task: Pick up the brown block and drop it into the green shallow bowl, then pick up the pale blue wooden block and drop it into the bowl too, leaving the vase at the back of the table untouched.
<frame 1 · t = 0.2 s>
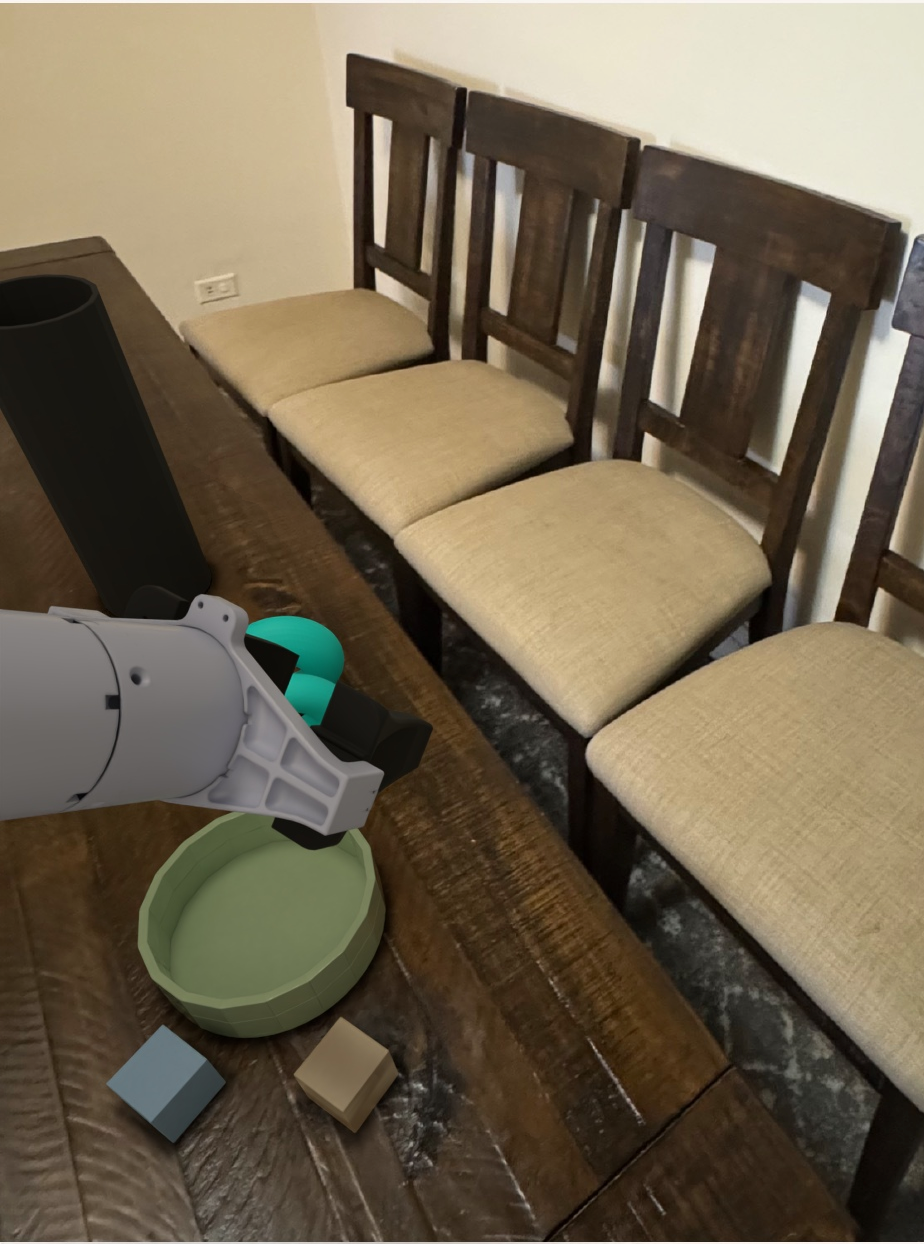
hand: (350, 707, 37), 31 cm above the table, tool tilted 45°, fingers open, 7 cm apart
blue block: (178, 1094, 54), on the table
green shallow bowl: (277, 928, 62), on the table
donuts: (301, 732, 75), on the table
vase: (159, 588, 88), on the table
brown block: (353, 1085, 54), on the table
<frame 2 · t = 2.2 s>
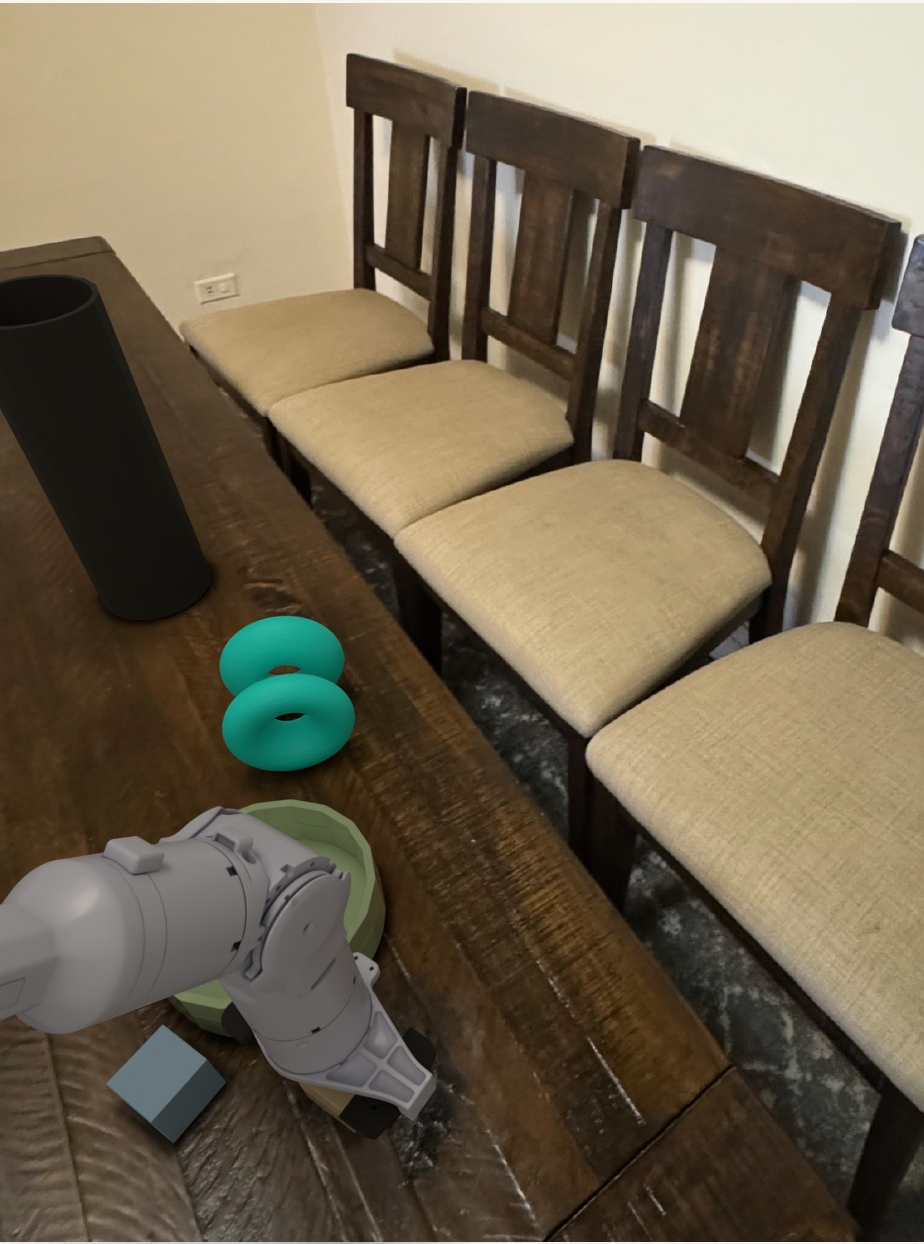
hand: (349, 1077, 53), 1 cm above the table, tool pointing down, fingers open, 7 cm apart
nothing on the table moved.
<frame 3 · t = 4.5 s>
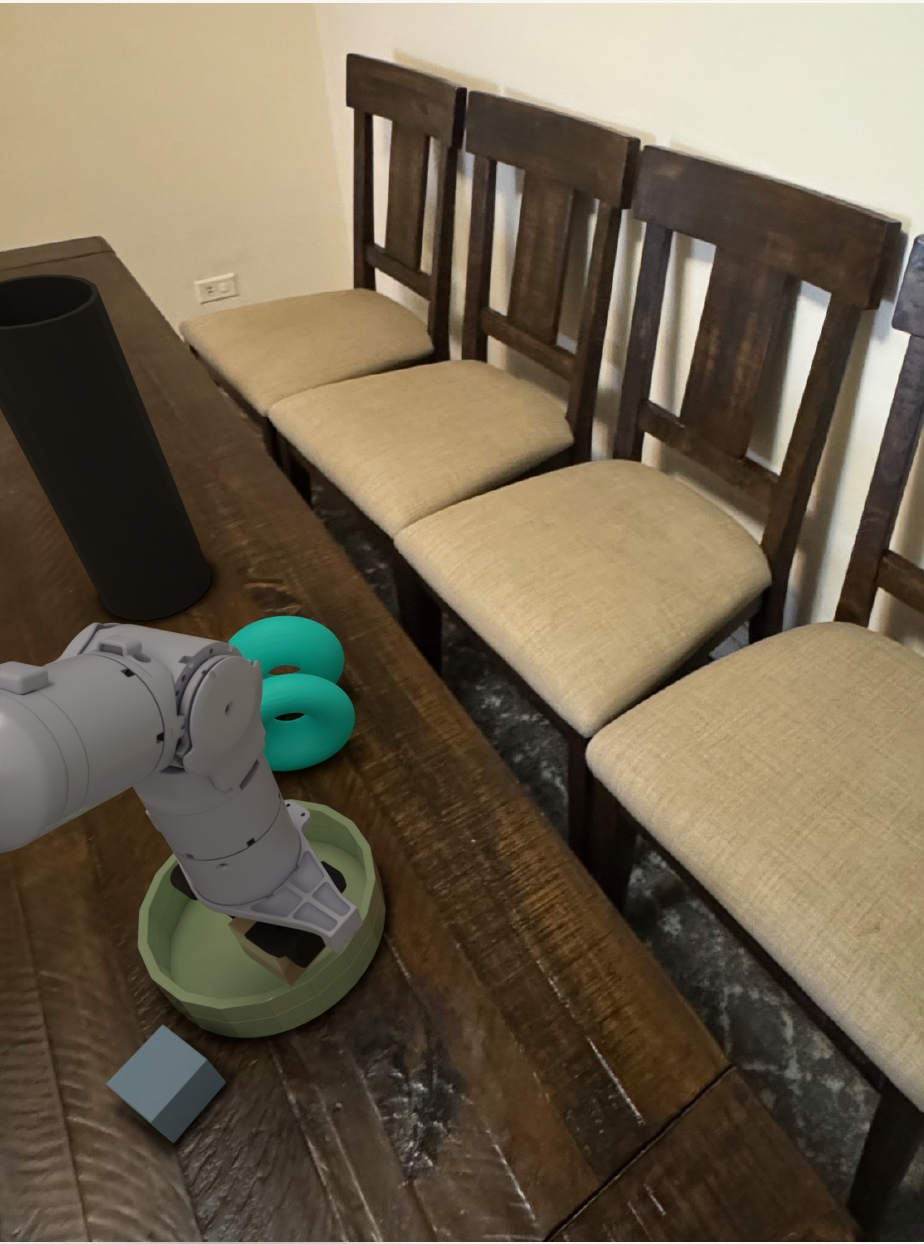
hand: (286, 934, 54), 7 cm above the table, tool pointing down, fingers closed on brown block, 4 cm apart
brown block: (292, 944, 55), point 6 cm above the table, touching gripper
everything else where it was.
when the fingers open (3 cm above the table, at t = 6.5 s): brown block drops 1 cm, resting on green shallow bowl.
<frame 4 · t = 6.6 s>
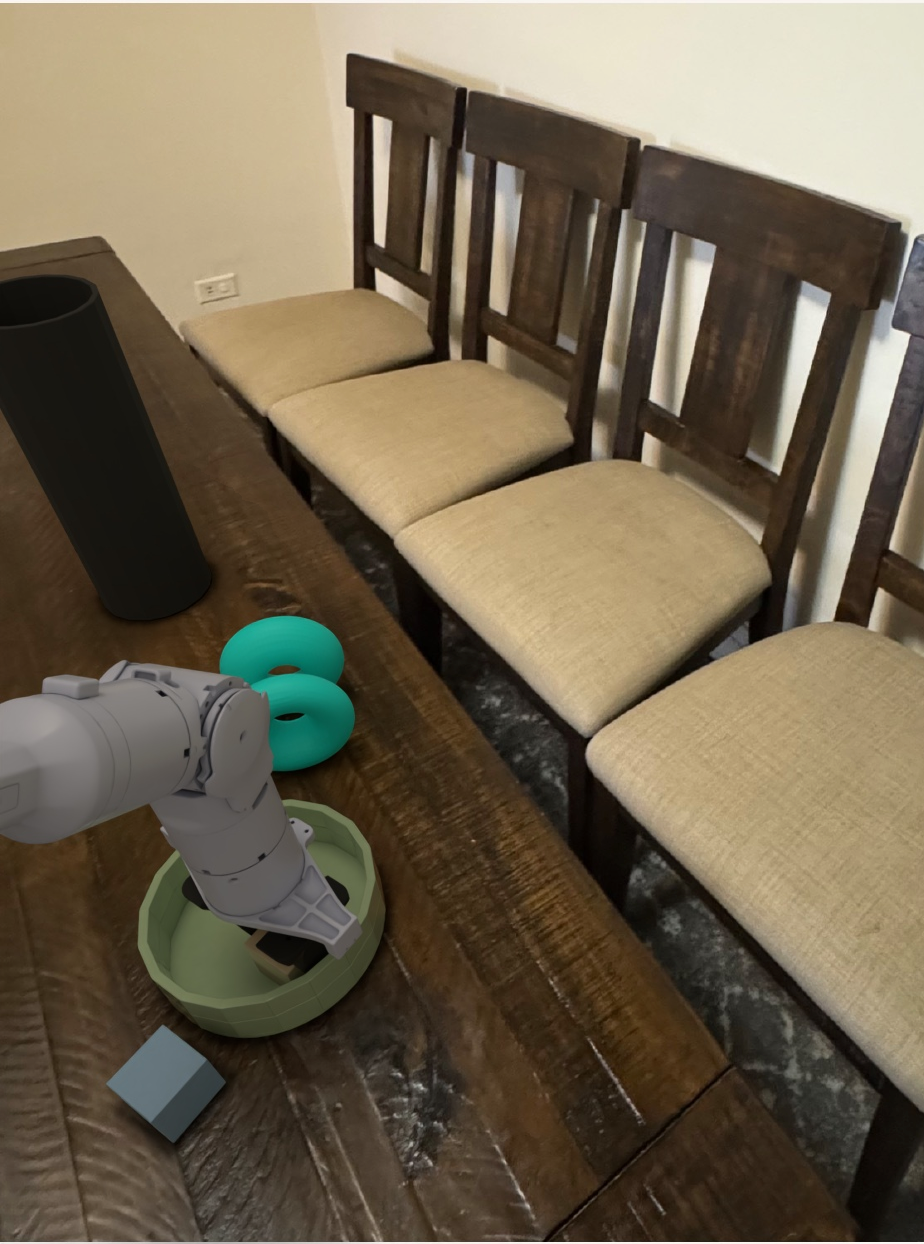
hand: (291, 942, 57), 3 cm above the table, tool pointing down, fingers open, 4 cm apart
brown block: (301, 961, 59), point 1 cm above the table, touching green shallow bowl
everything else where it was.
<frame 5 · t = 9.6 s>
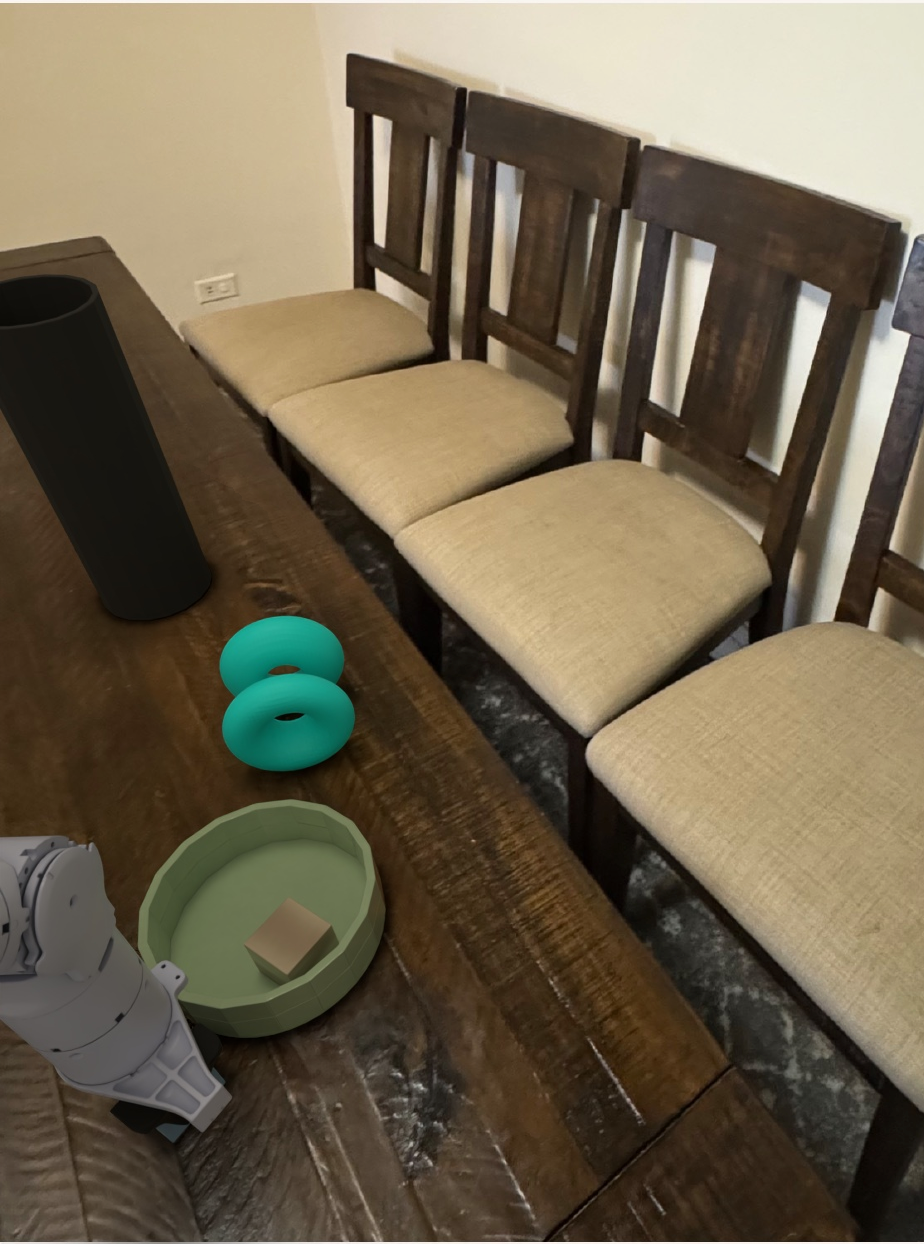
hand: (171, 1086, 53), 1 cm above the table, tool pointing down, fingers closed on blue block, 4 cm apart
blue block: (178, 1094, 54), on the table, touching gripper
everything else where it was.
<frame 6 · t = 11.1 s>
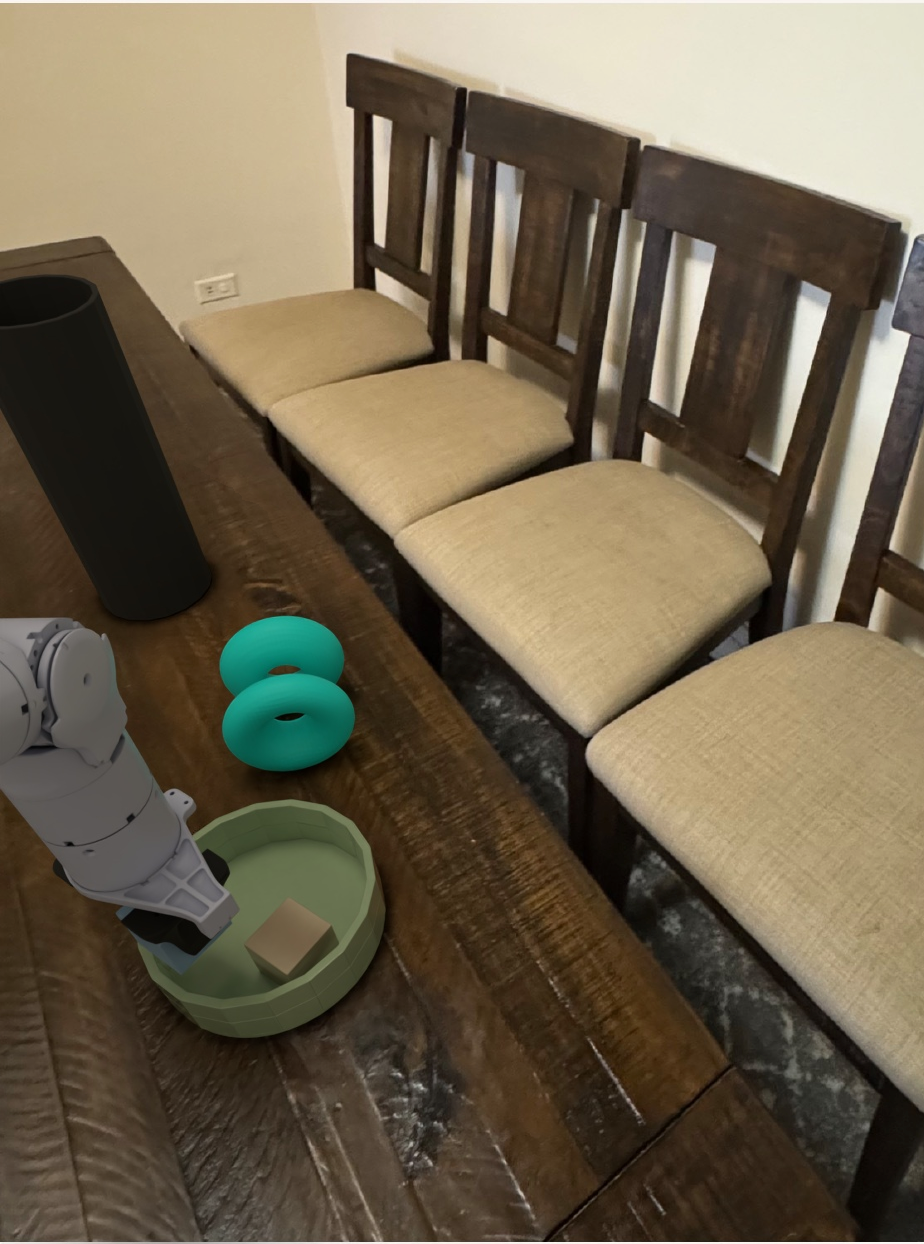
hand: (179, 922, 54), 8 cm above the table, tool pointing down, fingers closed on blue block, 4 cm apart
blue block: (186, 933, 55), point 6 cm above the table, touching gripper
everything else where it was.
when the fingers open (3 cm above the table, at t = 13.1 s): blue block drops 1 cm, resting on green shallow bowl.
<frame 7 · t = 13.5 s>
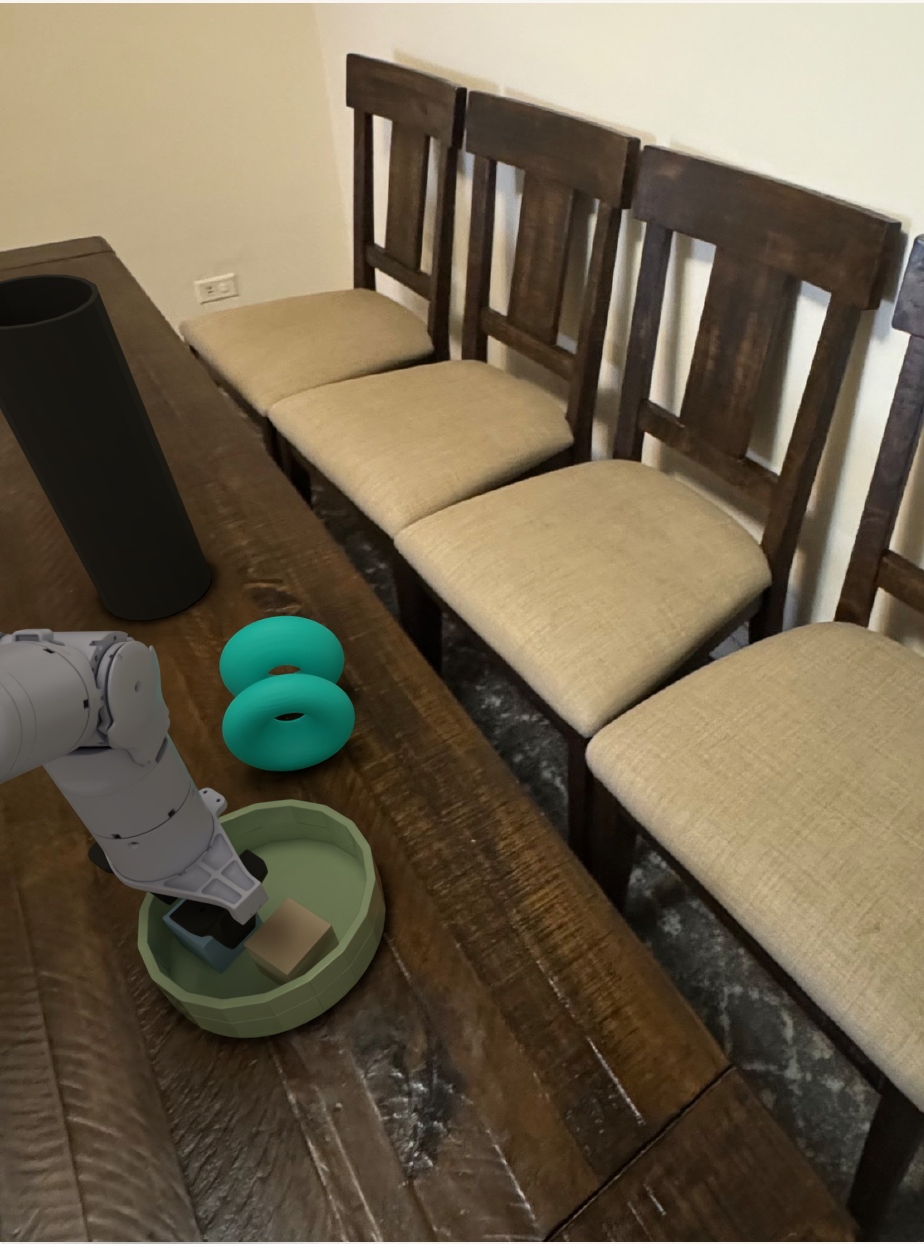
hand: (209, 913, 58), 4 cm above the table, tool pointing down, fingers open, 5 cm apart
blue block: (223, 936, 61), resting on green shallow bowl
everything else where it was.
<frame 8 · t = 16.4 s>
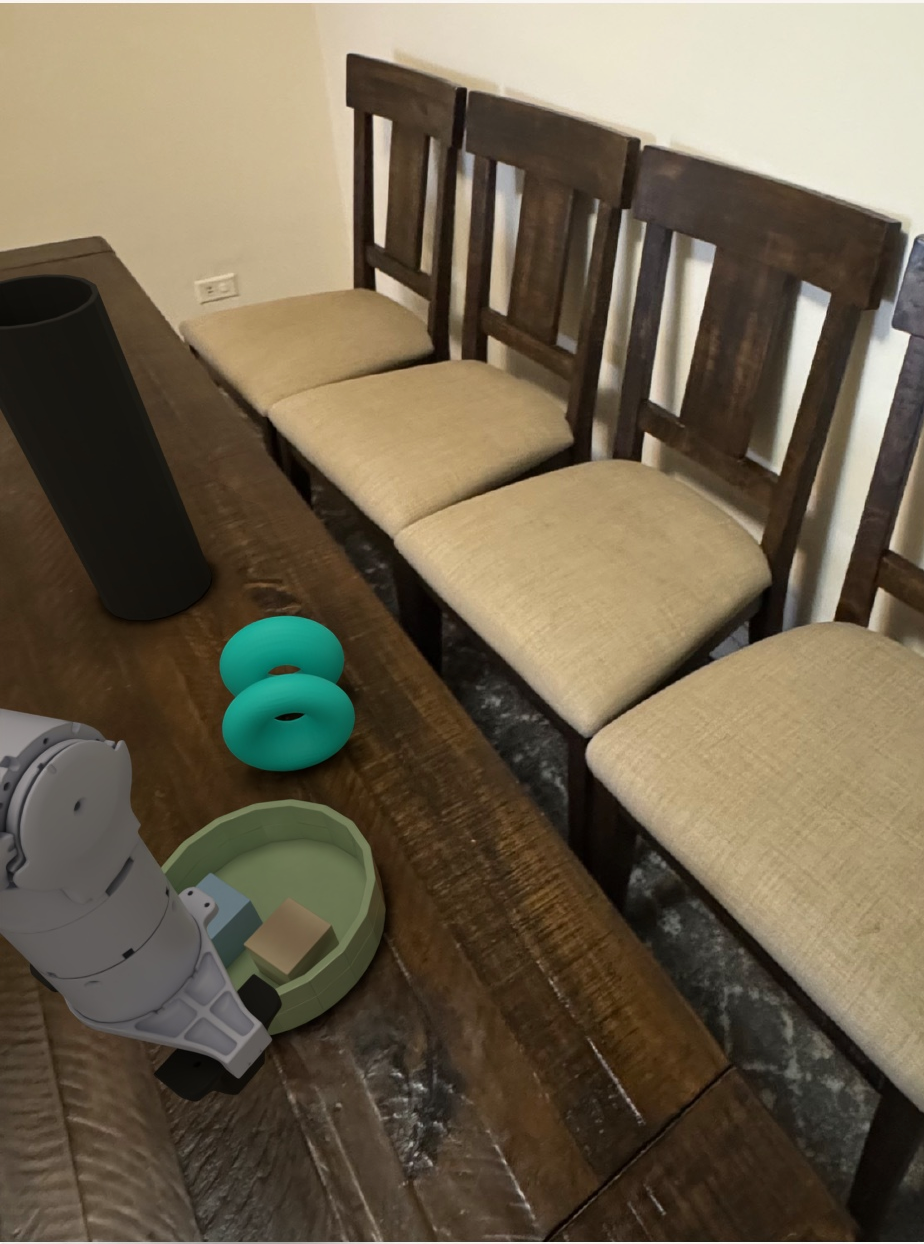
hand: (196, 1035, 46), 10 cm above the table, tool pointing down, fingers open, 7 cm apart
nothing on the table moved.
at the end: brown block inside the target area in the green shallow bowl (3.6 cm from its centre), point 0.5 cm above the green shallow bowl's base; blue block inside the target area in the green shallow bowl (3.5 cm from its centre), point 0.5 cm above the green shallow bowl's base; vase moved 0.2 cm from its start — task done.
